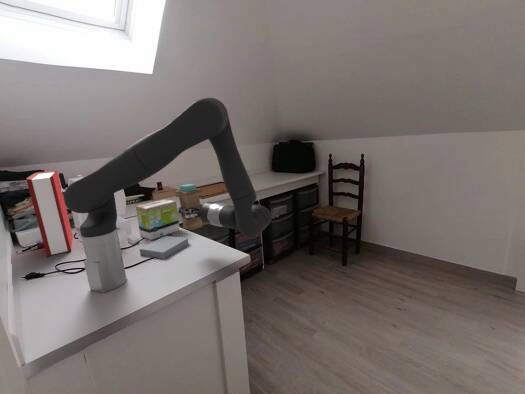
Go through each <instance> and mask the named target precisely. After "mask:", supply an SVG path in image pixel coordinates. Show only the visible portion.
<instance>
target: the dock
mask: <svg viewBox="0 0 525 394" xmlns="http://www.w3.org/2000/svg"><path fill="white" fill-rule="evenodd" d="M187 245H189V238H188V237H187V238H186V237H180V236H178V237H177V236H172V235H171V236H169V235H164V236H161V237H159V239H157V240H153V241H152V242H150V243H148V244H146V245H145V246H143V247H140V248H139V253H140V256H144V257H145V256H146V257H150V256H151V257H152V258H156V257H157V258H156V259H163V260H164V259H167V258H168V257H170V256H171V255H173V254H175V253H176V252H178V251H179V250H181V249H183V248H185V247H186V246H187ZM151 257H150V258H151Z"/></svg>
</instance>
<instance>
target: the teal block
mask: <svg viewBox="0 0 525 394" xmlns="http://www.w3.org/2000/svg"><path fill="white" fill-rule="evenodd" d="M196 189H197V184H194V183H186V184H183V185H179V190H180V192H190V191H194V190H196Z"/></svg>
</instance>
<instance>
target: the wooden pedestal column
mask: <svg viewBox="0 0 525 394" xmlns="http://www.w3.org/2000/svg"><path fill="white" fill-rule="evenodd" d="M202 194H203V192H202V188H196V190H194V191H190V192H180V189H179V190H175V197H177V198H179V205H180V207H184V208H190V207H198V206H200V204H201V200H200V196H201V195H202ZM193 210H194V209H193ZM188 211H189V210H188ZM181 220H182V226H183V227H182V228H183V229H184V230H185V229H186V230H189V231H195V230H196V229H199V228H202V227H204V225H203V223H204V222H203V221H202V220H201V219H200V218H195V217H190V220H186V219H184V218H182V217H181Z"/></svg>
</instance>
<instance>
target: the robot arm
mask: <svg viewBox="0 0 525 394" xmlns="http://www.w3.org/2000/svg"><path fill="white" fill-rule="evenodd" d="M229 117H230V116H229V112H228V110H227V107H226V106H225V104H224V103H223V102H222V101H220V100H219V99H217V98H214V97H205V98H200V99H197V100H195V101H193V102H192V103H191V104H190V105H188V107H186V109H184V110H183V111H182V112H181V113H180V114H179V115H177V116H176V117H175V118H174V119H173V120H171V121H170V122H169V123H167V125H165V126H163V127H161V128H160V129H157V130H155V131H154V132H151V133H149V134H147V135H145V136H144V137H142V138H141V139H139V140H137V141H135V142H134V143H133V144H131V145H130V146H129V147H126V148H125V149H124V150H123V151H121V152H120V153H119V154H117V155H116V156H114V157H113V158H112V159H110V160H108V162H106V163H105V164H103V165H102V166H101V167H100V168H98V169H97V170H95V171H94V172H92V173H90V174H88V175H86V176H83V177H82V178H80V179H78V180H76V181H73V182H72V183H71V184H69V185H68V186H67V187H66V189H65V191H64V193H63V197H64V202H65V206H66V209H68V210H70V211H71V212H73V213H77V214H87V217H86V218H85V220H84V221H83V223H81V224H80V226H79V233H80V237H81V240H82V245H83V249H84V254H85V258H86V259H85V260H84V261H83V264H84V270H85V274H86V276H87V281H88V286H89V289H90V290H91V291H95V292H99V293H102V294H103V293H106V292H108V291H111V290H112V291H113V290H114V289H117V288H119V287H121V286H122V285H124V284H125V283H126V281H127V280H128V279H127V278H128V277H127V273H126V270H125V264H124V259H123V252H122V250H121V249H122V248H121V245H120V244H121V243H120V239H119V234H118V229H117V221H118V212H117V211H118V210H117V205H116V198H115V193H118V192H120V191H123V190H124V189H127V188H129V187H133V186H134V185H136V184H138V183H141V182H144V181H145V180H146V179H149V178H151V177H152V176H154V175H155V174H157V173H158V172H160V171H162V170H163V169H164V168H166V167H167V166H168V165H169V164H171V163H172V162H173V161H174V160H175V159H177V158H178V157H179V156H180V155H181V154H182V153H184V152H185V151H187V150H188V149H191V148H192V147H194V146H196V145H199V144H200V143H203V142H205V141H207V140H209V142H210V144H211V145H212V148H213V150H214V153H215V156H216V158H217V162H218V165H219V169H220V175H221V177H222V181H223V183H224V186H225V188H226V191H227V193H228V196H229V198H230V200H231V201H232V205H231V204H230V205H229V204H226V203H222V202H217V201H205V202H204V203H200V206H198V207H190V208H184V207H178V214H181V215H180V216H181V219H182V218H184V219H186V220H190V217H195V218H200V219H201V220H202V223H204V224H207V225H212V226H215V227H225V228H228V229H233V230H234V229H235V230H237V229H238V231H239V233H240V234H241V235H242V236H243V237H244V238H247V239H252V240H253V239H255V238H257V237H258V236H259V235H260V234H261V233H262V232H263V231H265V229H266V228H267V227H268V226H269V225H270V224H271V223H272V219H273V218H272V217H273V216H272V213H271V211H270V210H269V209H268V208H267V207H265V206H263V205H260V204H254V203H255V202H256V200H257V198H258V196H257V193H256V189H255V188H254V185H253V183H252V180H251V178H250V176H249V174H248V171H247V169H246V167H245V163H244V162H243V160H242V157H241V155H240V152H239V150H238V146H237V143H236V141H235V137H234V133H233V130H232V126H231V121H230V118H229ZM193 209H194V210H193ZM188 210H189V211H188Z"/></svg>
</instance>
